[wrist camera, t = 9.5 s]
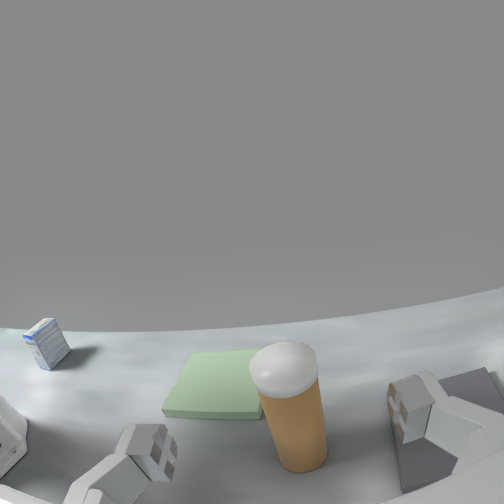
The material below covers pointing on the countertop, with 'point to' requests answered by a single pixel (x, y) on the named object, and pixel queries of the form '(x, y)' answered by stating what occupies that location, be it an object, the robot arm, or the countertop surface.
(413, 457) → the tile
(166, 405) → the tile
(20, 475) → the countertop surface
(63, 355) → the medicine box
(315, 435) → the pill bottle
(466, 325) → the countertop surface
